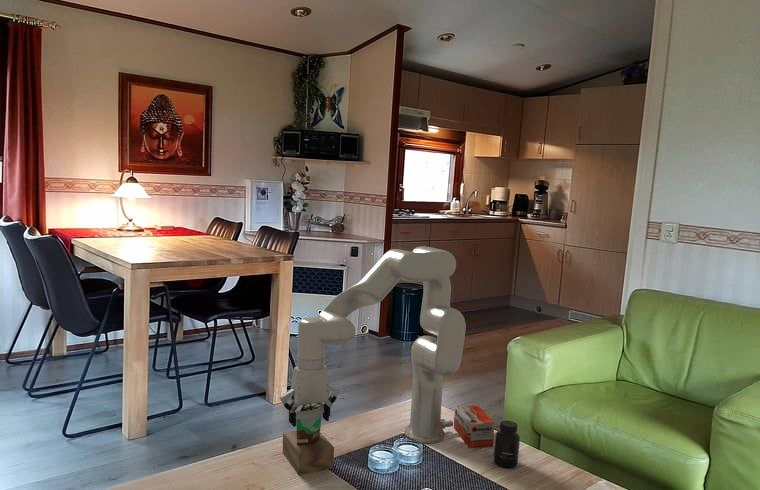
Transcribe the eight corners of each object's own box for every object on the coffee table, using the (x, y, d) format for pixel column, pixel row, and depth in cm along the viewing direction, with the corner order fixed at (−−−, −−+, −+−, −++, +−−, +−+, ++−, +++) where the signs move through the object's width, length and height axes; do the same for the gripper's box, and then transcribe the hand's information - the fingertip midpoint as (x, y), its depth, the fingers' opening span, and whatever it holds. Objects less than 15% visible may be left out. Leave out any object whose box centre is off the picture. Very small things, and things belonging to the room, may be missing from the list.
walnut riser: (315, 446, 169) (315, 427, 168) (333, 468, 157) (334, 447, 156) (282, 452, 164) (283, 432, 164) (298, 475, 152) (299, 453, 151)
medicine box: (452, 428, 187) (454, 404, 186) (476, 427, 189) (477, 404, 188) (469, 449, 173) (470, 424, 172) (494, 448, 174) (496, 423, 173)
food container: (317, 449, 154) (317, 414, 153) (295, 447, 155) (295, 411, 154) (328, 430, 166) (329, 397, 165) (308, 428, 167) (308, 395, 166)
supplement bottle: (504, 471, 160) (507, 430, 158) (488, 460, 166) (491, 420, 164) (522, 466, 163) (526, 426, 162) (507, 456, 169) (510, 417, 168)
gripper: (334, 355, 165) (333, 412, 167) (276, 362, 157) (275, 421, 159) (345, 363, 158) (343, 422, 160) (285, 370, 150) (283, 432, 152)
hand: (309, 422), depth 160 cm, fingers open, 9 cm apart
